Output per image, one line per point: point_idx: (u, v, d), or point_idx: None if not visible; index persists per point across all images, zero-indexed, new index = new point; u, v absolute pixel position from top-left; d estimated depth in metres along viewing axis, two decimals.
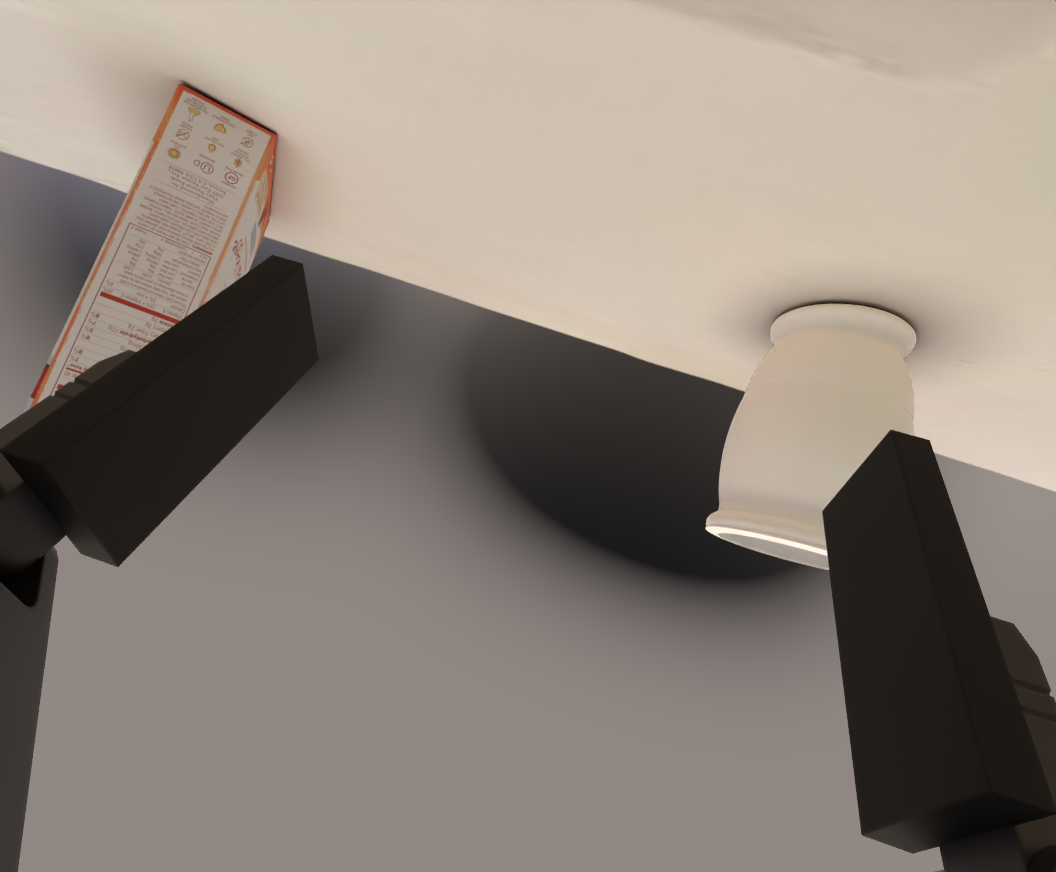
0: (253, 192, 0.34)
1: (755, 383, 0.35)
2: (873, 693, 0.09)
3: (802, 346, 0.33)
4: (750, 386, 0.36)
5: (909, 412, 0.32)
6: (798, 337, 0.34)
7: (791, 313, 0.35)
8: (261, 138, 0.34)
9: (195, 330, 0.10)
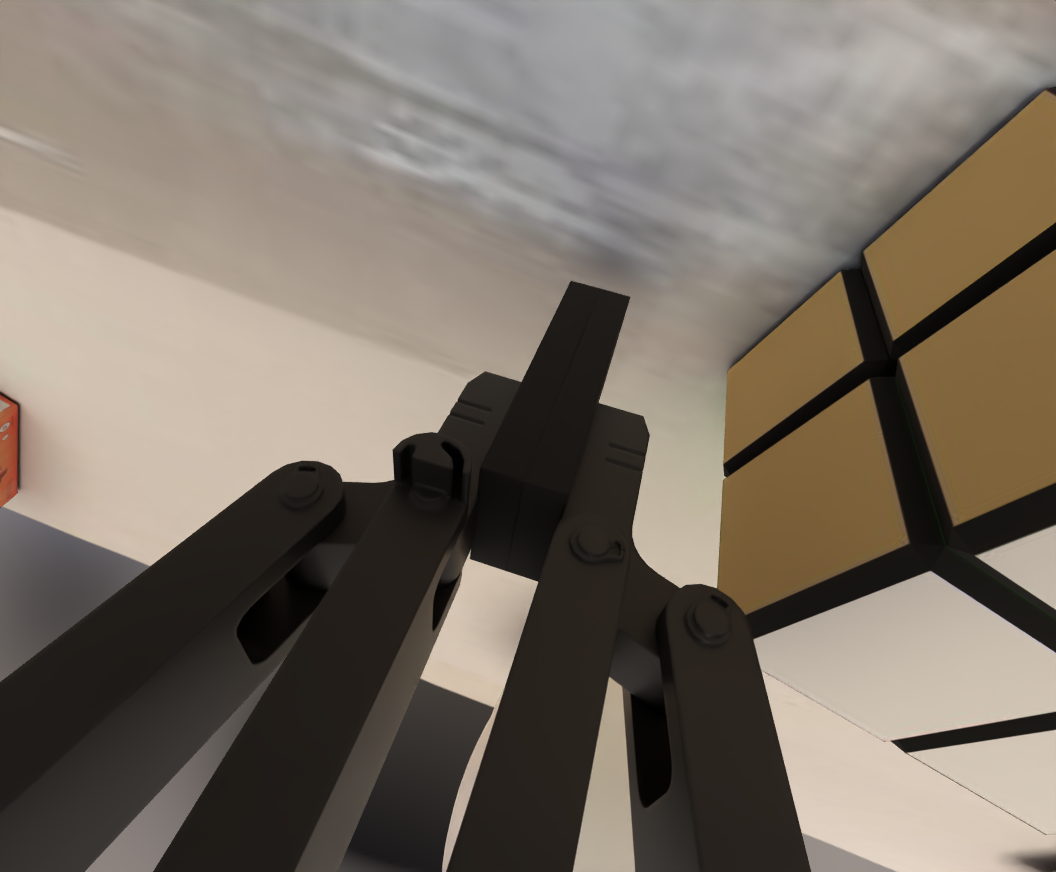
0: None
1: (495, 707, 0.30)
2: None
3: None
4: (493, 711, 0.31)
5: None
6: None
7: None
8: None
9: (557, 354, 0.11)
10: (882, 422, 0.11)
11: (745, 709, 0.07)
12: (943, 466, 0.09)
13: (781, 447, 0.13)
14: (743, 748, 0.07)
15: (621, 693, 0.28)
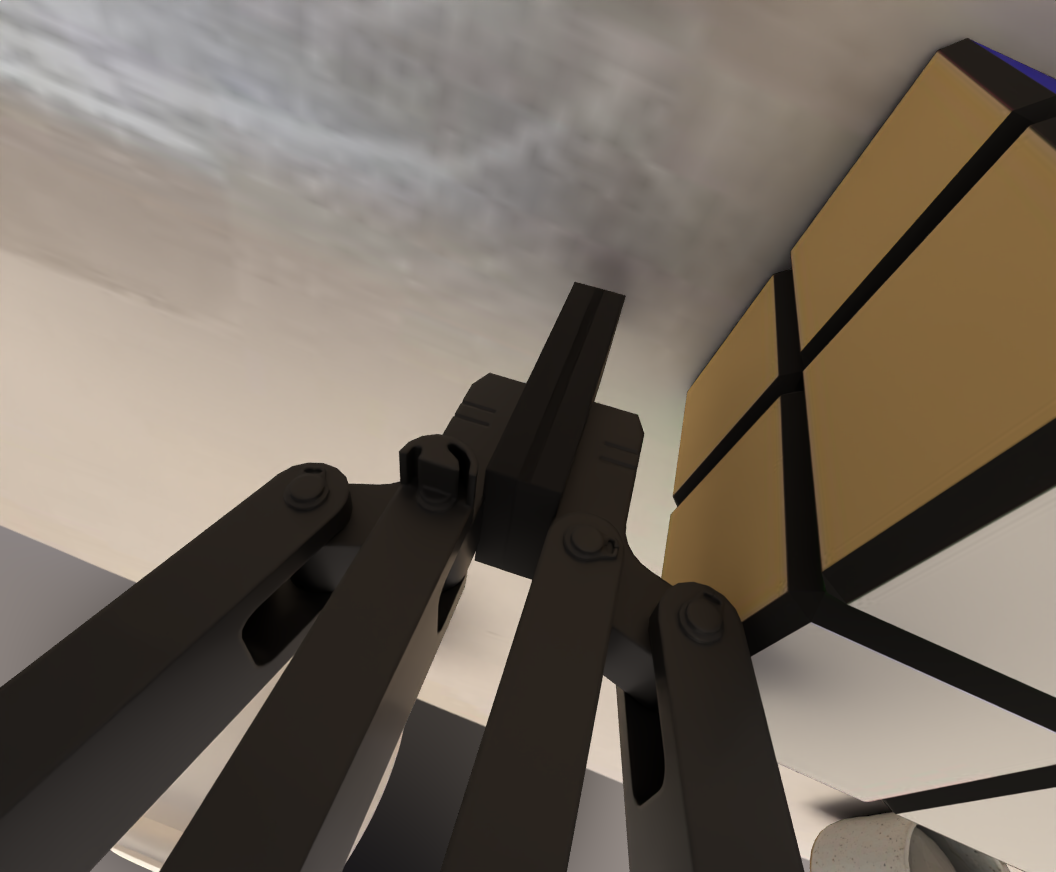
0: None
1: None
2: None
3: None
4: None
5: None
6: None
7: None
8: None
9: (562, 356, 0.11)
10: (784, 446, 0.10)
11: (737, 706, 0.07)
12: (821, 498, 0.08)
13: (712, 476, 0.12)
14: (736, 745, 0.07)
15: None
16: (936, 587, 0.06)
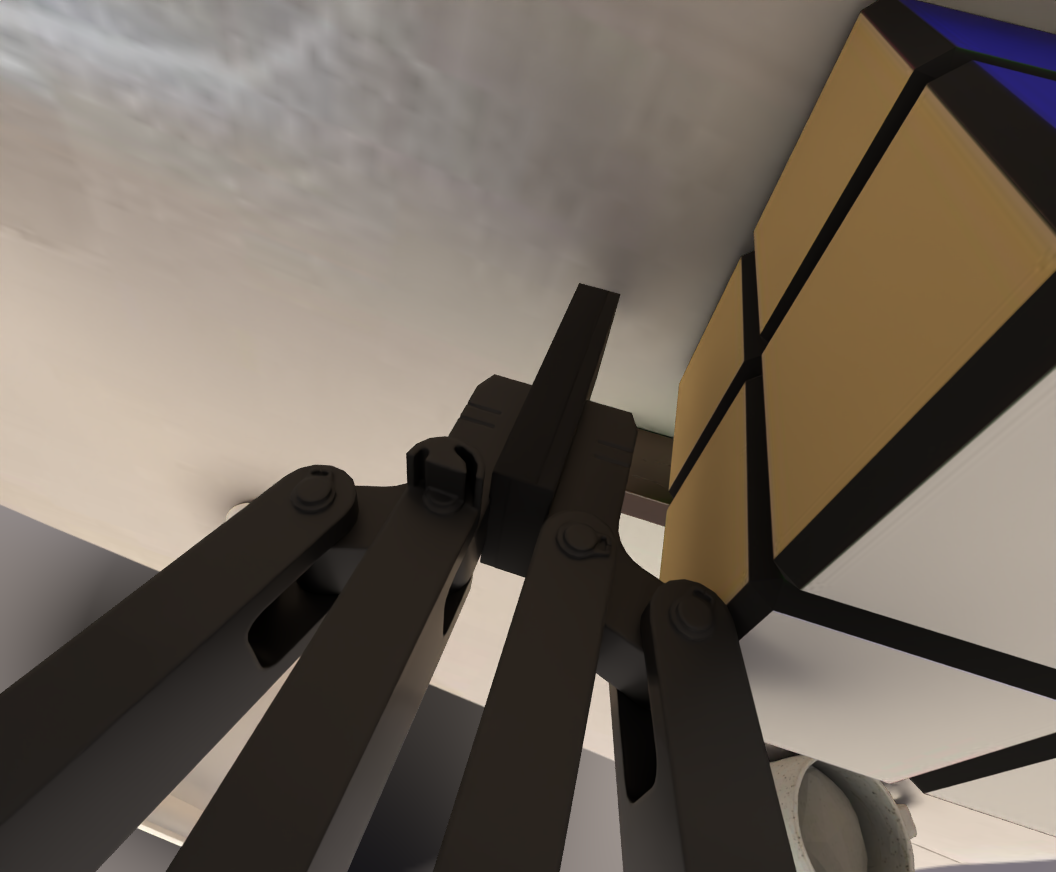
0: None
1: None
2: None
3: None
4: None
5: None
6: None
7: None
8: None
9: (567, 357, 0.11)
10: (748, 433, 0.10)
11: (729, 703, 0.07)
12: (773, 484, 0.08)
13: (696, 469, 0.12)
14: (727, 742, 0.07)
15: None
16: (879, 565, 0.06)
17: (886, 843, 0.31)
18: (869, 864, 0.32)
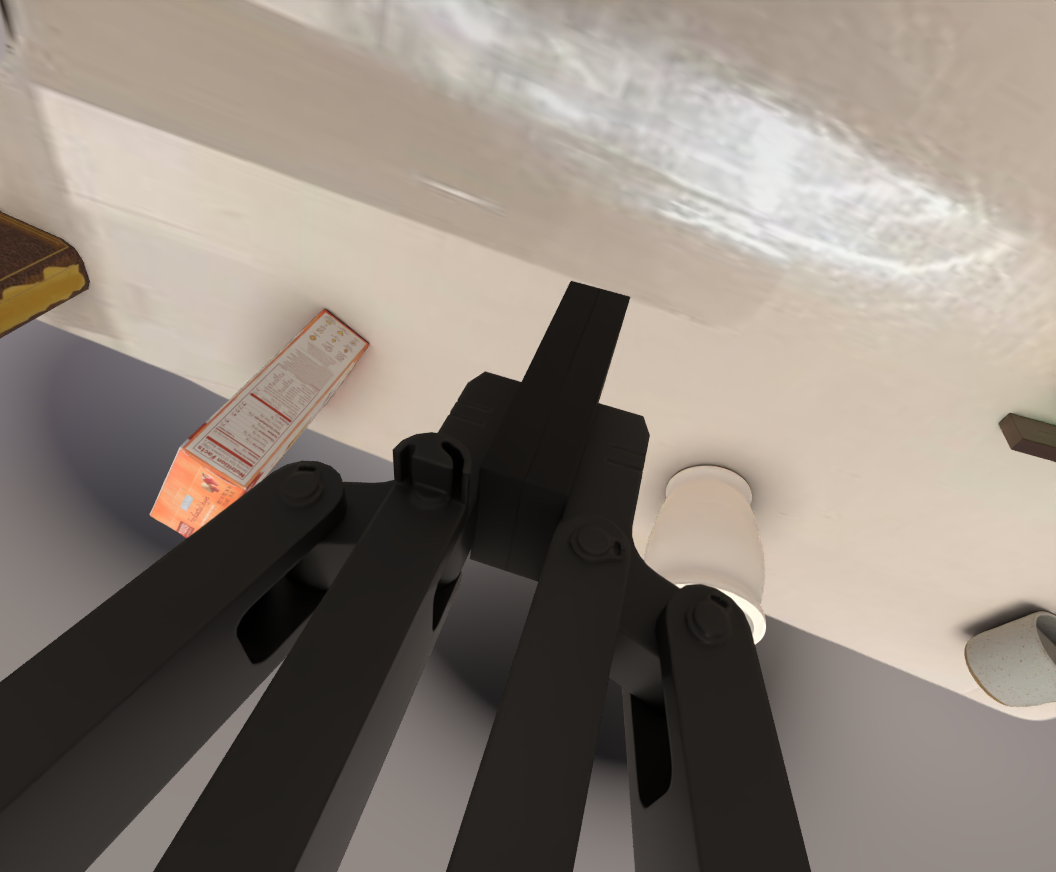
0: (350, 367, 0.54)
1: (660, 513, 0.54)
2: None
3: (685, 487, 0.53)
4: (657, 517, 0.54)
5: (754, 524, 0.51)
6: (683, 485, 0.55)
7: (677, 474, 0.56)
8: (361, 343, 0.56)
9: (557, 354, 0.11)
10: None
11: (745, 709, 0.07)
12: None
13: None
14: (743, 748, 0.07)
15: (736, 497, 0.51)
16: None
17: None
18: None
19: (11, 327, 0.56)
